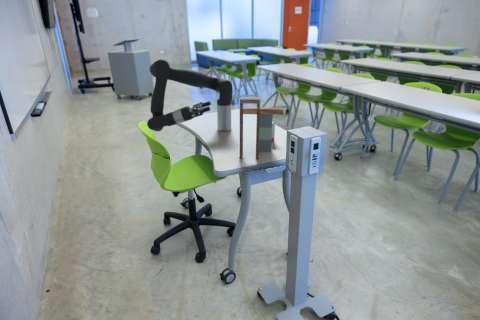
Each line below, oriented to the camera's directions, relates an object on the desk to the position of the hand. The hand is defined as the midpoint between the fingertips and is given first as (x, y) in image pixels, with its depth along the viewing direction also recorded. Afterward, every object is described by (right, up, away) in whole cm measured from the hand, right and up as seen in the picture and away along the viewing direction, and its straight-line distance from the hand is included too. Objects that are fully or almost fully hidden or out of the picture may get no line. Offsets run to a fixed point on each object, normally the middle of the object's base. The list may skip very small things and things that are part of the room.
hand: (210, 105), depth 170 cm
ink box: (+33, -18, +21) cm, 43 cm away
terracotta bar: (+29, -5, -1) cm, 29 cm away
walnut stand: (+21, -28, -2) cm, 35 cm away
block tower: (+30, -24, +8) cm, 39 cm away
